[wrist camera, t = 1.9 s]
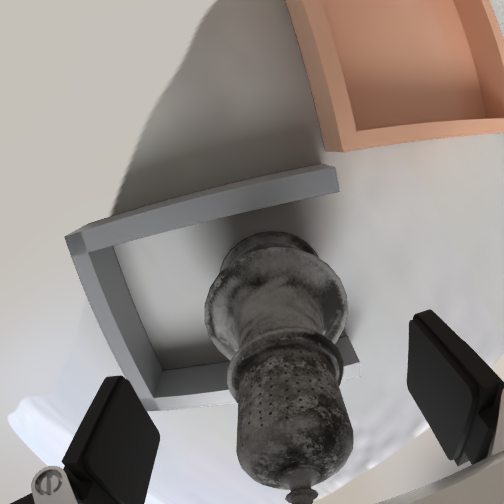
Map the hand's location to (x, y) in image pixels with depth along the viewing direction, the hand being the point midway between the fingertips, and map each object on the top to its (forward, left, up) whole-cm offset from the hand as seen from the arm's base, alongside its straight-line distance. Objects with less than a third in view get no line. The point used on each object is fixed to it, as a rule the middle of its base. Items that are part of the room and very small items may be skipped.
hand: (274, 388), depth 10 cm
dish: (-9, -11, -7) cm, 16 cm away
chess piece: (0, 0, -8) cm, 8 cm away
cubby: (+1, 0, -7) cm, 7 cm away
